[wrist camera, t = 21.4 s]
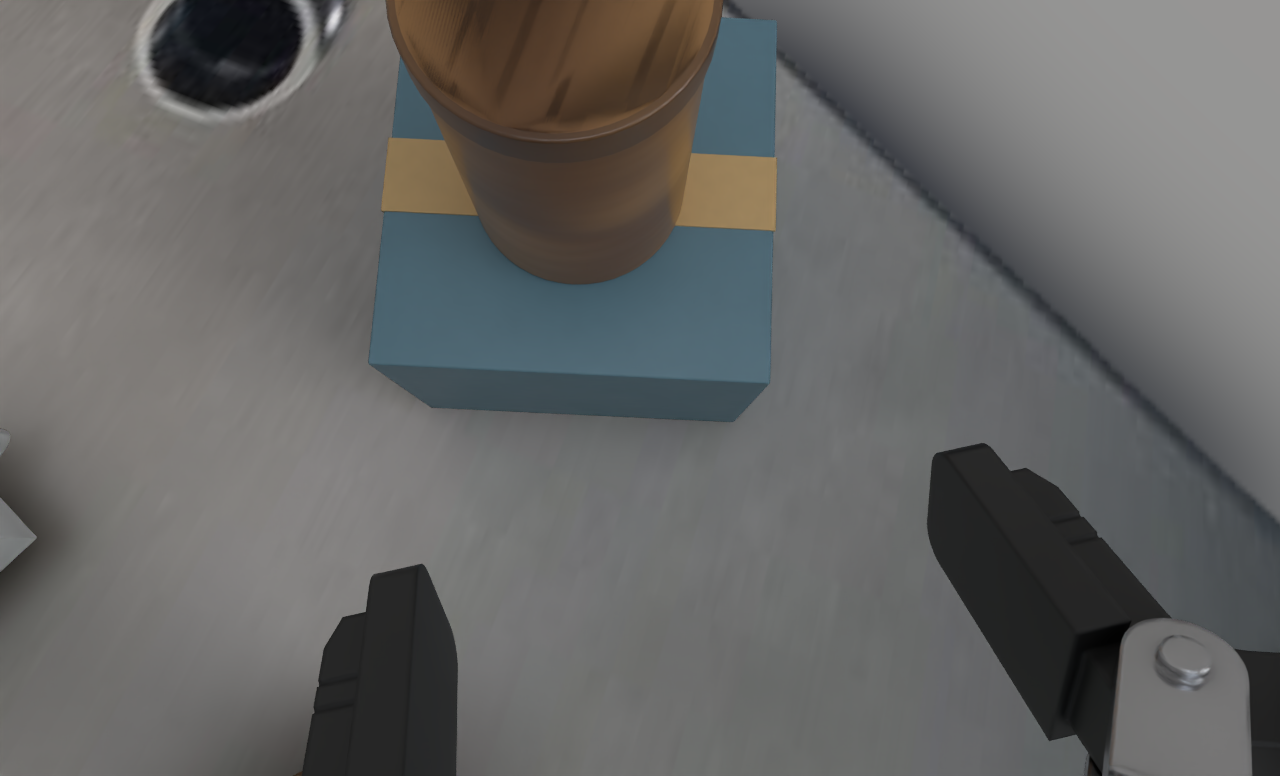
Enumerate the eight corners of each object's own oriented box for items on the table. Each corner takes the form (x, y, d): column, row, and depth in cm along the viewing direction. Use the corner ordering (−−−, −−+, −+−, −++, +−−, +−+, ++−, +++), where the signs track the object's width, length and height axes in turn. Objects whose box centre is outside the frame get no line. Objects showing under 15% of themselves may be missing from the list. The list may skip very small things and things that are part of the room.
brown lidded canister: (691, 90, 22) (728, -154, 15) (683, 294, 21) (718, 151, 14) (479, 78, 22) (401, -173, 14) (461, 283, 21) (367, 133, 14)
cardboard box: (742, 139, 30) (779, 18, 23) (735, 422, 28) (773, 383, 21) (454, 124, 30) (402, -2, 23) (428, 407, 28) (364, 363, 21)
